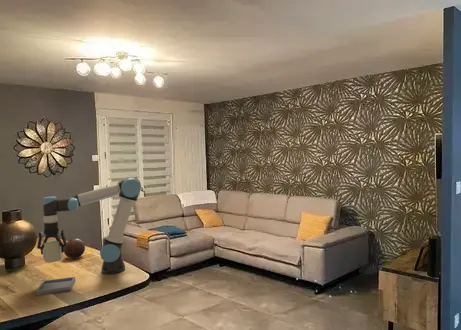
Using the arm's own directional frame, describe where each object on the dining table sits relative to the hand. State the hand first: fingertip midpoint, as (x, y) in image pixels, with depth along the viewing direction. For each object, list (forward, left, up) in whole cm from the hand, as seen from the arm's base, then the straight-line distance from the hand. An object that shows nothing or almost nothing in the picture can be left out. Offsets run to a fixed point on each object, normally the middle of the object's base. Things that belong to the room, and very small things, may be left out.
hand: (53, 258), depth 218 cm
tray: (-3, +8, -15) cm, 18 cm away
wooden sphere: (-4, -56, -16) cm, 58 cm away
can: (0, 0, -1) cm, 1 cm away
